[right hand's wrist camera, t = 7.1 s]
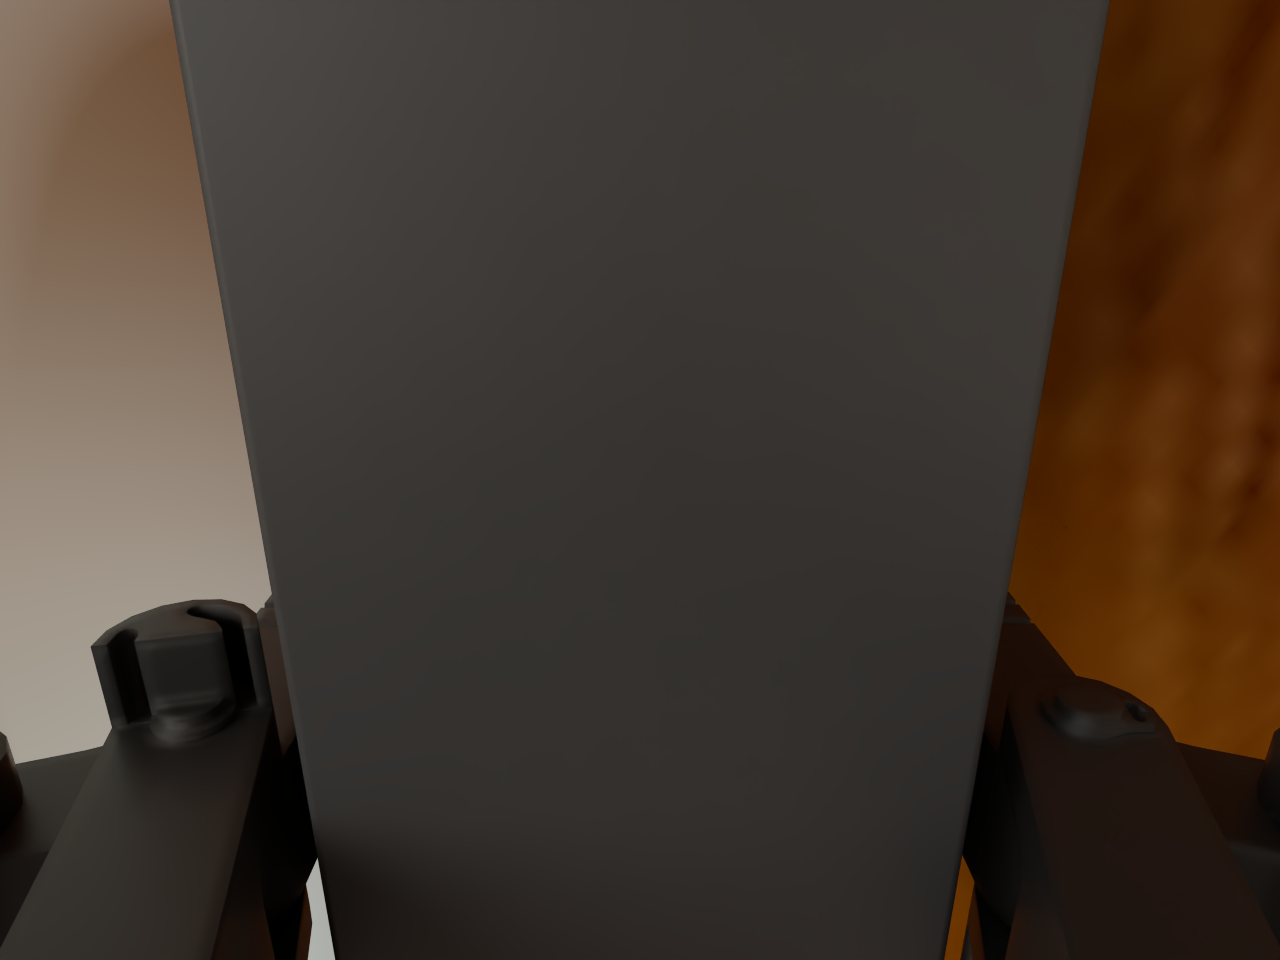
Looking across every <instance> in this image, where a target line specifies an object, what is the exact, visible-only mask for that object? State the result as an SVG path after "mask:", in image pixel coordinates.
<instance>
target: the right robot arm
mask: <svg viewBox="0 0 1280 960" xmlns="http://www.w3.org/2000/svg"><path fill="white" fill-rule="evenodd" d="M91 650H92V653H93V657H94V661H95V664H96V669H97V672H98V676H99V680H100V684H101V687H102V691H103V695H104V699H105V702H106V706H107V710H108V714H109V718H110V721H111V725H112V729H111V731H110V733H109V735H108V737H107V739H106V741H105V743H104V745H103V746H101V747H97V748H93V749H89V750H85V751H80V752H75V753H70V754H65V755H60V756H55V757H50V758H45V759H39V760H34V761H29V762H25V763H19V764H15V762H14V759H13V756H12V753H11V749H10V746H9V743H8V740H7V737H6V736H5V735H4V734H3V733H1V732H0V960H308V952H309V944H310V936H311V929H312V918H311V911H310V904H309V898H308V893H307V888H306V882H307V880H308V878H309V876H310V873H311V871H312V869H313V867H314V864H315V862H316V860H317V858H318V857H317V851H316V845H315V839H314V834H313V828H312V822H311V816H310V810H309V805H308V799H307V793H306V787H305V782H304V776H303V770H302V764H301V759H300V753H299V747H298V741H297V735H296V730H295V724H294V718H293V712H292V707H291V701H290V695H289V689H288V683H287V678H286V672H285V666H284V660H283V655H282V649H281V643H280V637H279V632H278V626H277V620H276V614H275V608H274V603H273V597H272V595H271V596H270V597H269V599H268V600H267V601H266V603H265V607H264V608H261V609H260V610H259V611H258V613H257V614H256V613H255V612H254V611H252V610H251V609H250V608H248V607H247V606H246V605H244V604H241V603H236V602H232V601H227V600H222V599H216V600H190V601H185V602H180V603H174V604H169V605H164V606H160V607H157V608H154V609H152V610H149V611H146V612H143V613H140V614H137V615H134V616H132V617H130V618H128V619H126V620H124V621H123V622H121V623H119V624H117V625H116V626H114V627H112V628H110V629H109V630H107V631H106V632H105V633H104V634H103V635H102V636H101V637H100V638H99V639H98V640H97V641H96V642H95V643H94V644H93V645H92V646H91ZM962 855H963V857H964V859H965V861H966V863H967V866H968V868H969V870H970V872H971V875H972V877H973V879H974V881H975V882H974V887H973V893H972V898H971V904H970V909H969V915H968V920H967V926H966V931H965V937H964V942H963V948H962V953H961V959H960V960H1280V728H1279V729H1278V730H1276V731H1275V732H1274V734H1273V738H1272V741H1271V744H1270V747H1269V750H1268V753H1267V756H1266V759H1265V760H1261V759H1256V758H1251V757H1246V756H1241V755H1236V754H1230V753H1225V752H1220V751H1215V750H1210V749H1205V748H1200V747H1195V746H1191V745H1187V744H1183V743H1179V742H1176V741H1175V739H1174V737H1173V735H1172V733H1171V731H1170V729H1169V728H1168V726H1167V725H1166V724H1165V722H1164V721H1163V720H1162V719H1161V718H1160V716H1159V715H1158V714H1157V713H1156V712H1155V710H1154V709H1153V708H1151V707H1150V706H1148V705H1147V704H1145V703H1144V702H1142V701H1141V700H1139V699H1138V698H1136V697H1135V696H1133V695H1132V694H1130V693H1128V692H1126V691H1123V690H1121V689H1119V688H1116V687H1114V686H1111V685H1109V684H1106V683H1104V682H1101V681H1098V680H1093V679H1088V678H1084V677H1079V676H1076V675H1075V674H1074V672H1073V671H1072V670H1071V669H1070V667H1069V666H1068V665H1067V664H1066V663H1065V661H1064V660H1063V659H1062V658H1061V656H1060V655H1059V654H1058V653H1057V651H1056V650H1055V649H1054V648H1053V646H1052V645H1051V644H1050V643H1049V641H1048V640H1047V639H1046V638H1045V637H1044V635H1043V634H1042V633H1041V632H1040V630H1039V629H1038V628H1037V627H1036V625H1035V624H1030V618H1029V617H1028V615H1027V614H1026V613H1025V612H1024V611H1023V609H1022V608H1021V607H1020V606H1019V605H1015V599H1014V598H1013V597H1012V596H1011V594H1010V593H1009V592H1007V598H1006V604H1005V609H1004V615H1003V621H1002V627H1001V633H1000V638H999V644H998V650H997V656H996V662H995V667H994V673H993V679H992V685H991V690H990V696H989V702H988V708H987V714H986V719H985V725H984V731H983V737H982V742H981V748H980V754H979V760H978V766H977V771H976V777H975V783H974V789H973V795H972V800H971V806H970V812H969V818H968V823H967V829H966V835H965V841H964V847H963V852H962Z"/></svg>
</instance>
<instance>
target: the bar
mask: <svg viewBox="0 0 1280 960" xmlns="http://www.w3.org/2000/svg"><path fill="white" fill-rule="evenodd" d="M169 2H170V8H171V14H172V20H173V25H174V31H175V37H176V43H177V49H178V54H179V60H180V66H181V72H182V77H183V83H184V89H185V95H186V100H187V106H188V112H189V117H190V123H191V129H192V135H193V141H194V147H195V152H196V158H197V164H198V170H199V176H200V181H201V187H202V193H203V198H204V204H205V210H206V216H207V222H208V227H209V233H210V239H211V245H212V250H213V256H214V262H215V268H216V273H217V279H218V285H219V291H220V297H221V303H222V308H223V314H224V320H225V325H226V331H227V337H228V343H229V349H230V354H231V360H232V366H233V372H234V377H235V383H236V389H237V395H238V401H239V406H240V412H241V418H242V424H243V429H244V435H245V441H246V447H247V453H248V458H249V464H250V470H251V476H252V481H253V487H254V493H255V499H256V505H257V510H258V516H259V522H260V528H261V533H262V539H263V545H264V551H265V556H266V562H267V568H268V574H269V580H270V585H271V591H272V597H273V603H274V608H275V614H276V620H277V626H278V632H279V637H280V643H281V649H282V655H283V660H284V666H285V672H286V678H287V683H288V689H289V695H290V701H291V707H292V712H293V718H294V724H295V730H296V735H297V741H298V747H299V753H300V759H301V764H302V770H303V776H304V782H305V787H306V793H307V799H308V805H309V810H310V816H311V822H312V828H313V834H314V839H315V845H316V851H317V857H318V862H319V868H320V874H321V880H322V885H323V891H324V897H325V903H326V909H327V914H328V920H329V926H330V932H331V937H332V943H333V949H334V955H335V960H944V956H945V951H946V945H947V939H948V933H949V928H950V922H951V916H952V910H953V904H954V899H955V893H956V887H957V881H958V875H959V870H960V864H961V858H962V852H963V847H964V841H965V835H966V829H967V823H968V818H969V812H970V806H971V800H972V795H973V789H974V783H975V777H976V771H977V766H978V760H979V754H980V748H981V742H982V737H983V731H984V725H985V719H986V714H987V708H988V702H989V696H990V690H991V685H992V679H993V673H994V667H995V662H996V656H997V650H998V644H999V638H1000V633H1001V627H1002V621H1003V615H1004V609H1005V604H1006V598H1007V592H1008V586H1009V581H1010V575H1011V569H1012V563H1013V557H1014V552H1015V546H1016V540H1017V534H1018V529H1019V523H1020V517H1021V511H1022V505H1023V500H1024V494H1025V488H1026V482H1027V476H1028V471H1029V465H1030V459H1031V453H1032V448H1033V442H1034V436H1035V430H1036V424H1037V419H1038V413H1039V407H1040V401H1041V396H1042V390H1043V384H1044V378H1045V372H1046V367H1047V361H1048V355H1049V349H1050V344H1051V338H1052V332H1053V326H1054V320H1055V315H1056V309H1057V303H1058V297H1059V291H1060V286H1061V280H1062V274H1063V268H1064V263H1065V257H1066V251H1067V245H1068V239H1069V234H1070V228H1071V222H1072V216H1073V211H1074V205H1075V199H1076V193H1077V187H1078V182H1079V176H1080V170H1081V164H1082V158H1083V153H1084V147H1085V141H1086V135H1087V130H1088V124H1089V118H1090V112H1091V106H1092V101H1093V95H1094V89H1095V83H1096V78H1097V72H1098V66H1099V60H1100V54H1101V49H1102V43H1103V37H1104V31H1105V25H1106V20H1107V14H1108V8H1109V2H1110V0H169Z"/></svg>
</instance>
